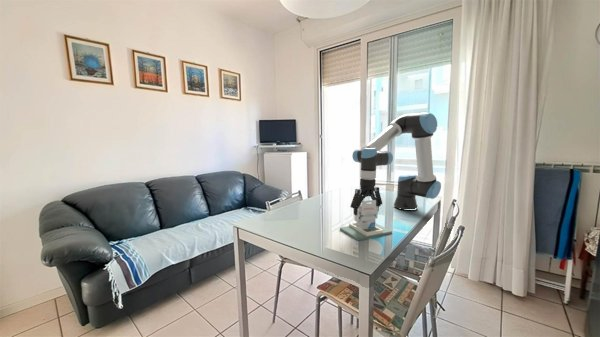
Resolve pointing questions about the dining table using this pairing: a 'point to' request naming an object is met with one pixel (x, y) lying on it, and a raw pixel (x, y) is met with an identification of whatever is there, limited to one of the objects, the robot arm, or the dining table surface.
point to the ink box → (367, 214)
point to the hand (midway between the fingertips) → (366, 219)
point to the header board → (364, 231)
